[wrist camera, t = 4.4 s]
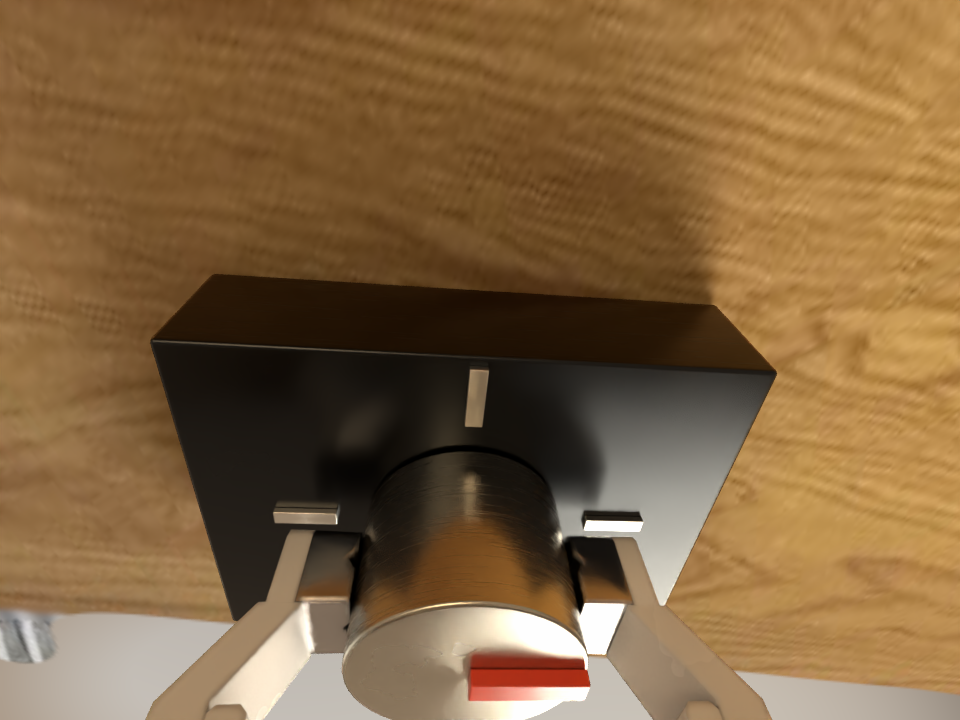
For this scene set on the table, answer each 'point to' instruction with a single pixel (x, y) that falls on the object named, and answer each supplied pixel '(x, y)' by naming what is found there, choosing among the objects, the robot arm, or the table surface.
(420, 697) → the knob
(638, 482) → the panel
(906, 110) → the table surface
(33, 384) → the table surface
